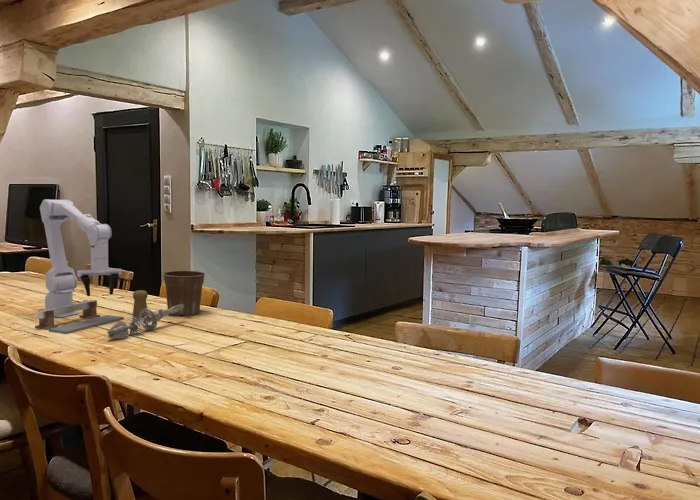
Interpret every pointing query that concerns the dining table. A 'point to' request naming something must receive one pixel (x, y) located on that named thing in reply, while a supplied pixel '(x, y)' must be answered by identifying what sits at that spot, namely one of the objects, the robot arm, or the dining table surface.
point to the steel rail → (66, 309)
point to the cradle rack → (49, 323)
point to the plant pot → (184, 291)
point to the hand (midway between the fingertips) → (99, 295)
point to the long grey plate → (85, 324)
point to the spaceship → (141, 322)
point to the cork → (139, 302)
